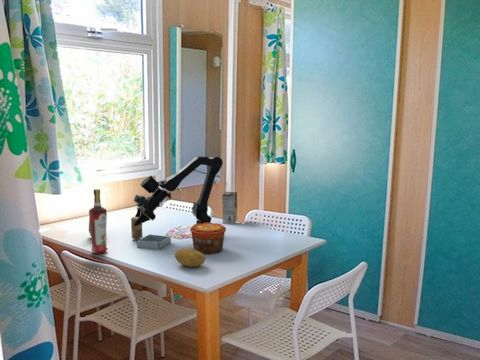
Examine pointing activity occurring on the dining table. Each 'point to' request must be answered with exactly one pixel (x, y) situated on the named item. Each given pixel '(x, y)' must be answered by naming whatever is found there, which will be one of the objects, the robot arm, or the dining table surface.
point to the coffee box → (229, 207)
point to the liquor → (98, 225)
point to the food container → (208, 237)
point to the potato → (189, 257)
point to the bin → (154, 242)
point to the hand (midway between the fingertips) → (133, 224)
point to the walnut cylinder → (136, 229)
